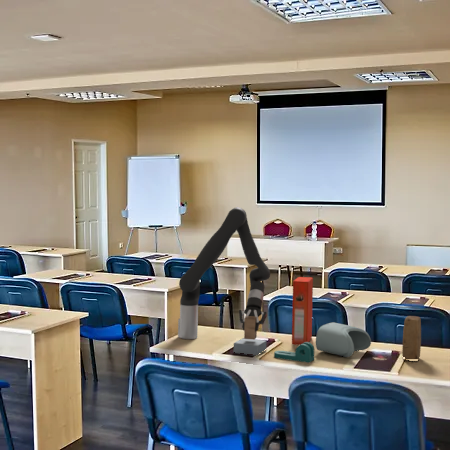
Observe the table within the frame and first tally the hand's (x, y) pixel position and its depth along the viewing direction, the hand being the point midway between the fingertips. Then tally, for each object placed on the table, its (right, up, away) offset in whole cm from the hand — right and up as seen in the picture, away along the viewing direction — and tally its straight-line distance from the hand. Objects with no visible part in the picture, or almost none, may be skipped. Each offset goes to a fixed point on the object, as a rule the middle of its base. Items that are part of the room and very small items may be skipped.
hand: (249, 330), depth 307 cm
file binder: (+28, -10, +26) cm, 39 cm away
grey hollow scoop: (+45, -12, +3) cm, 46 cm away
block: (+75, -13, -6) cm, 76 cm away
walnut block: (0, -4, +2) cm, 5 cm away
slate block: (0, -11, +2) cm, 11 cm away
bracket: (+19, -12, -9) cm, 24 cm away
